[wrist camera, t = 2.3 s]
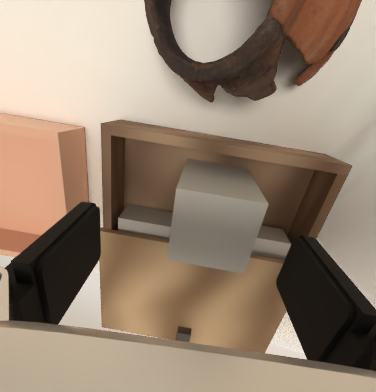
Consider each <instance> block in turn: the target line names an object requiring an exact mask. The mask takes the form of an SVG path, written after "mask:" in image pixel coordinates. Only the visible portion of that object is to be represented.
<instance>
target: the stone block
mask: <svg viewBox="0 0 376 392" xmlns="http://www.w3.org/2000/svg"><path fill="white" fill-rule="evenodd" d="M268 205H269V204H268V202H267V201H266V199H265V197H264V196H263V194H262V192H261V191H260V189H259V187H258V186H257V184H256V182H255V181H254V179H253V177H252V176H251V174H250V172H249V171H248V169H247V168H242V167H236V166H230V165H224V164H219V163H213V162H207V161H201V160H195V159H189V158H187V161H186V163H185V166H184V169H183V171H182V174H181V177H180V180H179V182H178V185H177V188H176V194H175V201H174V209H173V216H172V223H171V230H170V238H169V245H168V252H167V259H166V260H170V261H176V262H181V263H187V264H193V265H198V266H204V267H209V268H215V269H220V270H226V271H231V272H237V273H243V274H244V273H245V270H246V267H247V264H248V261H249V259H250V256H251V253H252V250H253V247H254V244H255V242H256V239H257V236H258V233H259V230H260V227H261V225H262V222H263V219H264V216H265V213H266V210H267V208H268Z"/></svg>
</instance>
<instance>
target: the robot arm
mask: <svg viewBox="0 0 376 392" xmlns="http://www.w3.org/2000/svg"><path fill="white" fill-rule="evenodd" d="M100 255H101V237H100V209H99V207H96V204H95V203H89V202H80V203H79V204H78V205H77V206H75V207H74V208H73V209H72V210H71V211H70V212H68V213H67V214H66V215H65V216H64V217H62V218H61V219H60V220H59V221H58V222H57V223H55V224H54V225H53V226H52V227H51V228H49V229H48V230H47V231H46V232H45V233H44V234H42V235H41V236H40V237H39V238H38V239H36V240H35V241H34V242H33V243H32V244H31V245H29V246H28V247H27V248H26V249H25V250H23V251H22V252H21V253H20V254H19V255H17V256H16V257H15V258H14V259H13V260H12V261H11V263H10V264H9V265H8V266H7V267H6V268H3V267H0V392H376V309H375V308H374V307H373V306H372V305H371V303H370V302H369V301H368V300H367V299H366V298H365V296H364V295H363V294H362V293H361V292H360V291H359V289H358V288H357V287H356V286H355V285H354V283H353V282H352V281H351V280H350V279H349V278H348V276H347V275H346V274H345V273H344V272H343V271H342V269H341V268H340V267H339V266H338V265H337V264H336V262H335V261H334V260H333V259H332V258H331V257H330V255H329V254H328V253H327V252H326V251H325V249H324V248H323V247H322V246H321V245H320V244H319V242H318V241H317V240H316V239H315V238H313V237H308V236H299V237H298V238H295V239H294V241H293V243H292V245H291V248H290V250H289V252H288V254H287V257H286V259H285V261H284V263H283V266H282V268H281V270H280V272H279V275H278V277H277V280H276V286H277V289H278V291H279V293H280V296H281V298H282V301H283V303H284V305H285V308H286V310H287V312H288V315H289V317H290V320H291V322H292V324H293V327H294V329H295V331H296V334H297V336H298V339H299V341H300V343H301V346H302V348H303V350H304V353H305V355H306V357H307V360H305V359H298V358H291V357H285V356H278V355H272V354H265V353H258V352H252V351H245V350H238V349H231V348H224V347H217V346H210V345H203V344H196V343H189V342H182V341H175V340H168V339H161V338H154V337H146V336H140V335H132V334H125V333H118V332H111V331H103V330H96V329H88V328H81V327H73V326H64V325H58V324H59V322H60V321H61V319H62V317H63V316H64V314H65V313H66V311H67V310H68V308H69V306H70V305H71V303H72V302H73V300H74V298H75V297H76V295H77V294H78V292H79V291H80V289H81V287H82V286H83V284H84V283H85V281H86V280H87V277H88V276H89V275H90V273H91V272H92V270H93V268H94V267H95V265H96V264H97V262H98V261H99V259H100Z"/></svg>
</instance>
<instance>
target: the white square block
mask: <svg viewBox="0 0 376 392" xmlns="http://www.w3.org/2000/svg"><path fill="white" fill-rule="evenodd" d="M290 246H291V243H290V241H289V239H288V237H287V236H286V234H285V232H284V231H283V229H279V228H273V227H267V226H262V225H261V227H260V230H259V233H258V236H257V239H256V242H255V244H254V247H253V250H252V253H251V255H257V256H262V257H268V258H273V259H279V260H285V257H286V255H287V253H288V251H289V248H290Z"/></svg>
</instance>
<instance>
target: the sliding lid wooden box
mask: <svg viewBox="0 0 376 392" xmlns="http://www.w3.org/2000/svg"><path fill="white" fill-rule="evenodd" d="M101 146H102V187H103V228H100V237H101V255H100V259H99V262H100V289H101V314H102V315H101V316H102V327H104V328H110V329H116V330H121V331H126V332H131V333H137V334H142V335H147V336H153V337H158V338H163V339H169V340H175V341H182V342H189V343H196V344H203V345H210V346H217V347H224V348H231V349H238V350H245V351H252V352H258V353H265V351H266V349H267V347H268V345H269V344H270V342H271V340H272V338H273V336H274V334H275V332H276V330H277V328H278V326H279V324H280V322H281V320H282V318H283V317H284V315H285V313H286V311H287V310H286V308H285V305H284V303H283V301H282V298H281V296H280V293H279V291H278V289H277V286H276V280H277V277H278V275H279V272H280V270H281V268H282V266H283V263H284V261H285V260H279V259H273V258H268V257H262V256H257V255H251V256H250V259H249V261H248V264H247V267H246V270H245V273H244V274H243V273H237V272H231V271H226V270H220V269H215V268H209V267H204V266H198V265H193V264H187V263H181V262H176V261H170V260H166V259H167V252H168V245H169V240H167V239H161V238H156V237H150V236H144V235H139V234H133V233H127V232H122V231H118V217H119V216H120V215H121V213H122V212H123V211H124V210H125V208H126V207H127V206H128V205H133V206H138V207H144V208H150V209H155V210H161V211H167V212H173V209H174V201H175V194H176V188H177V185H178V182H179V180H180V177H181V174H182V171H183V169H184V166H185V163H186V161H187V158H189V159H195V160H201V161H207V162H213V163H219V164H224V165H230V166H236V167H242V168H247V169H248V171H249V172H250V174H251V176H252V177H253V179H254V181H255V182H256V184H257V186H258V187H259V189H260V191H261V192H262V194H263V196H264V197H265V199H266V201H267V202H268V204H269V205H268V208H267V210H266V213H265V216H264V219H263V222H262V226H267V227H273V228H279V229H283V231H284V232H285V234H286V236H287V237H288V239H289V241H290V243H291V245H292V243H293V241H294V239H295V238H298V237H299V236H308V237H313V238H315V239H316V238H317V236H318V234H319V232H320V230H321V228H322V226H323V224H324V222H325V220H326V218H327V216H328V214H329V212H330V210H331V208H332V206H333V204H334V202H335V200H336V198H337V196H338V194H339V192H340V190H341V188H342V186H343V184H344V182H345V180H346V178H347V176H348V174H349V172H350V170H351V168H352V166H351V165H349V164H347V163H344V162H342V161H340V160H337V159H335V158H333V157H331V156H328V155H326V154H321V153H315V152H309V151H303V150H297V149H291V148H285V147H280V146H274V145H268V144H262V143H256V142H250V141H244V140H238V139H232V138H226V137H220V136H214V135H208V134H202V133H197V132H191V131H185V130H179V129H173V128H167V127H161V126H155V125H149V124H143V123H137V122H131V121H125V120H116V121H111V122H106V123H101ZM290 248H291V246H290ZM290 248H289V250H290ZM288 252H289V251H288ZM287 254H288V253H287ZM286 257H287V255H286ZM286 257H285V259H286Z"/></svg>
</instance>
